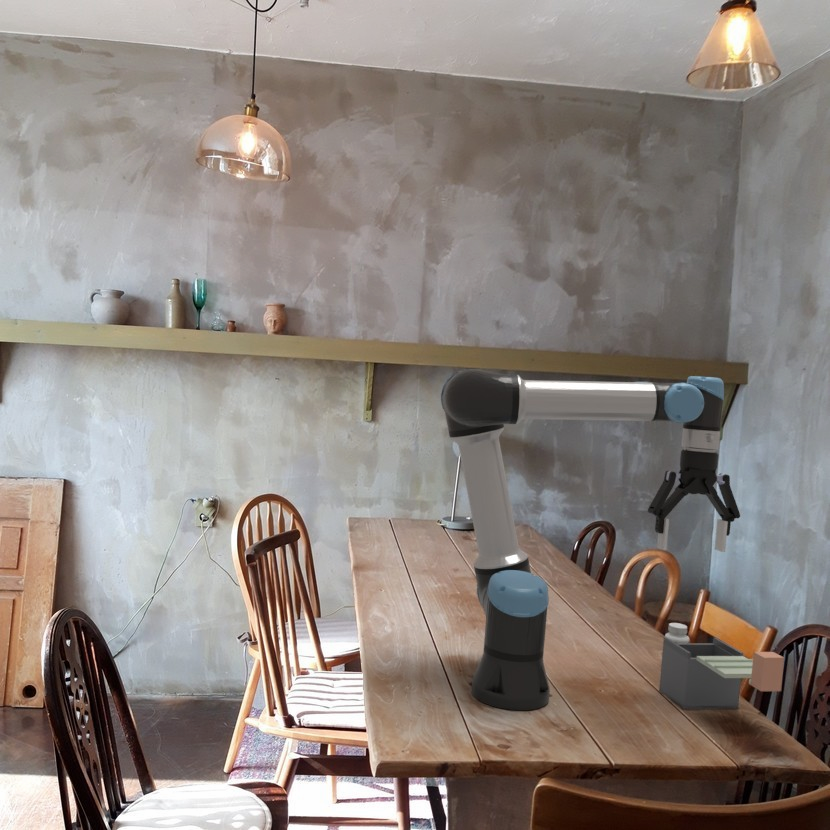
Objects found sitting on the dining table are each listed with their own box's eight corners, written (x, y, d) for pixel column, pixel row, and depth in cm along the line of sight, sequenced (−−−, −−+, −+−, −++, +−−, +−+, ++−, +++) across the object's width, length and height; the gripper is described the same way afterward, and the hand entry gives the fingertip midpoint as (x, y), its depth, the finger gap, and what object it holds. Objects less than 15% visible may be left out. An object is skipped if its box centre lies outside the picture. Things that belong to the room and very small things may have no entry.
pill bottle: (658, 663, 188) (662, 621, 188) (681, 664, 189) (684, 622, 189) (667, 671, 183) (671, 628, 183) (691, 672, 184) (695, 629, 183)
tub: (683, 709, 161) (688, 652, 161) (659, 690, 171) (663, 637, 170) (738, 708, 164) (743, 653, 164) (711, 690, 173) (716, 637, 173)
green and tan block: (745, 691, 144) (748, 657, 144) (696, 660, 160) (699, 629, 160) (796, 691, 147) (799, 657, 146) (742, 660, 162) (745, 629, 162)
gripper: (654, 448, 168) (645, 551, 169) (763, 454, 173) (754, 555, 174) (637, 445, 175) (628, 544, 176) (741, 451, 181) (733, 547, 182)
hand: (690, 549), depth 175 cm, fingers open, 13 cm apart
